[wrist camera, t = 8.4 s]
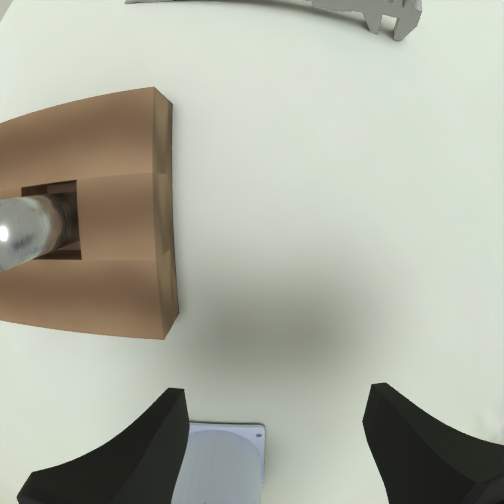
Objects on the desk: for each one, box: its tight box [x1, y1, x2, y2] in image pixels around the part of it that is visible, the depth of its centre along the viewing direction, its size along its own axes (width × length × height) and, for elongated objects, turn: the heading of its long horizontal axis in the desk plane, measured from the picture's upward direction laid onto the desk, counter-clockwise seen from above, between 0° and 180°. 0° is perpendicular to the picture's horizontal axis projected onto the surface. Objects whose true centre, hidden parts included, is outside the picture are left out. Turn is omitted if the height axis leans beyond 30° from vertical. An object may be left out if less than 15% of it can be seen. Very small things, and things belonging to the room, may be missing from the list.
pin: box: [0, 192, 80, 272], centre depth 15 cm, size 3×3×8 cm
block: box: [0, 87, 179, 340], centre depth 18 cm, size 14×14×4 cm
